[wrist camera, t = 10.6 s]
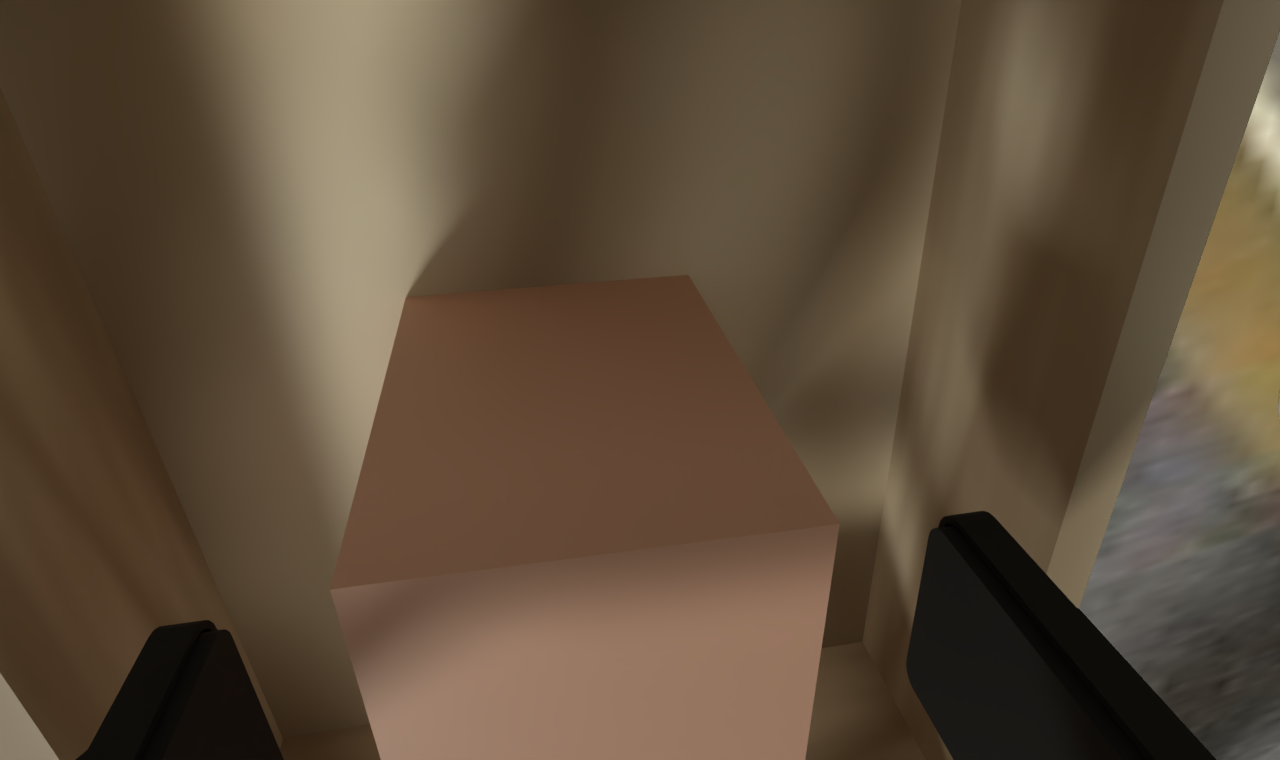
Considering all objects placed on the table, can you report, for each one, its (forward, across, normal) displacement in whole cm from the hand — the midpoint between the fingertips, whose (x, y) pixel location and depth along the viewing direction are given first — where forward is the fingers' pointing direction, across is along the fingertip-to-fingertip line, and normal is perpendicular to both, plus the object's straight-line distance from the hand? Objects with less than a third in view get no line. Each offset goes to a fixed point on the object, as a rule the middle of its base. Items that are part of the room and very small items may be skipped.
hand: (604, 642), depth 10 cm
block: (+5, 0, -1) cm, 5 cm away
